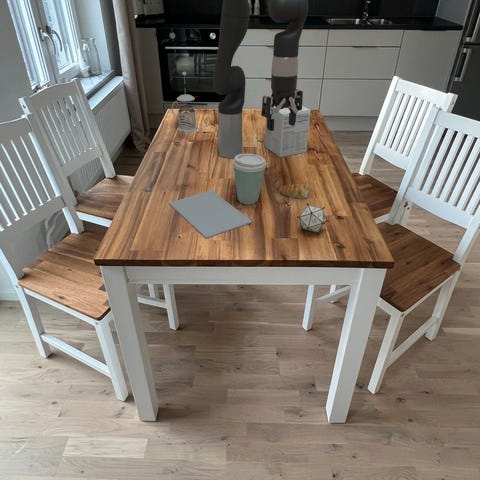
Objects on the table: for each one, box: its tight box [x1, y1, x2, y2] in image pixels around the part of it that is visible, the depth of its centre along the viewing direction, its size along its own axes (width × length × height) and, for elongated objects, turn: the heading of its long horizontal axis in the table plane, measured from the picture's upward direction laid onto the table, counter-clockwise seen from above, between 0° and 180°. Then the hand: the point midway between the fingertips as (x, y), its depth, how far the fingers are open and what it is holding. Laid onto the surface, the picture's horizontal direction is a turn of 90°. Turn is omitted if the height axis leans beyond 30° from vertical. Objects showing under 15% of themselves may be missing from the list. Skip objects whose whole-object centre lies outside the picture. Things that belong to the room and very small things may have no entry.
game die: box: [296, 202, 329, 236], centre depth 119 cm, size 9×8×10 cm
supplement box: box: [264, 105, 312, 158], centre depth 168 cm, size 13×13×18 cm
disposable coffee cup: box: [232, 153, 267, 205], centre depth 132 cm, size 11×11×15 cm
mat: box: [168, 190, 253, 239], centre depth 129 cm, size 24×16×1 cm, turn 34°
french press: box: [171, 71, 199, 133], centre depth 186 cm, size 10×12×25 cm
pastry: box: [279, 183, 310, 200], centre depth 139 cm, size 9×7×4 cm
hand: (281, 127), depth 129 cm, fingers open, 8 cm apart
